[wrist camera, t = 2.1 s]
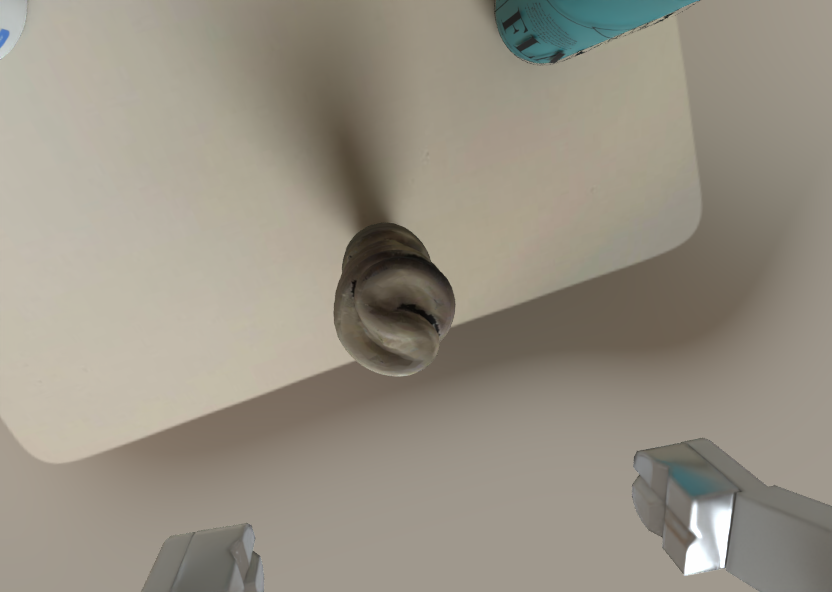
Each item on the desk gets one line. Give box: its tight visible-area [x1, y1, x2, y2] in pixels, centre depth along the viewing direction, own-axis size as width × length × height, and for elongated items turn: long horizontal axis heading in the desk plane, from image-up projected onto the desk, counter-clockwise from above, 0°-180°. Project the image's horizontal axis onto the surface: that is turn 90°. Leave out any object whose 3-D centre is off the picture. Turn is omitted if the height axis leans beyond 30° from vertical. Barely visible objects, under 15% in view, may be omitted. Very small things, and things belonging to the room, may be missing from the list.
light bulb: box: [334, 223, 455, 376], centre depth 26 cm, size 6×6×15 cm
